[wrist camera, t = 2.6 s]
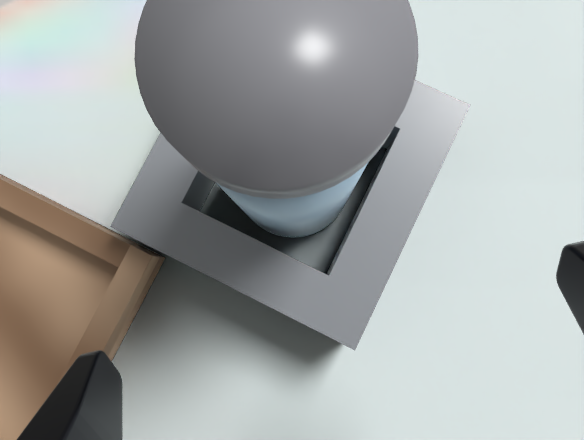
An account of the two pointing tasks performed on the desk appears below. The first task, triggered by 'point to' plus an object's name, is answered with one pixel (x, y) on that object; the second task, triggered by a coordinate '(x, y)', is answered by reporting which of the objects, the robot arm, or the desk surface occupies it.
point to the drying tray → (59, 296)
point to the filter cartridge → (278, 96)
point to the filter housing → (280, 267)
